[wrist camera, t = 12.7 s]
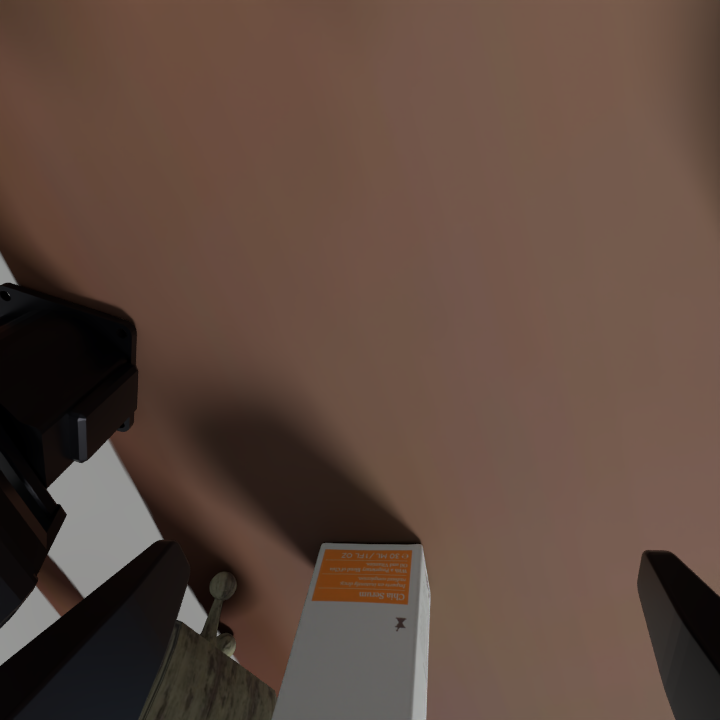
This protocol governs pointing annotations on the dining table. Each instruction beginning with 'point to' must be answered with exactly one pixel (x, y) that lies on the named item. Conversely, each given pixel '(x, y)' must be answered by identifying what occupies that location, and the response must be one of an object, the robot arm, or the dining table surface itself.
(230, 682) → the tabletop clock
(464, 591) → the dining table surface
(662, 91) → the dining table surface
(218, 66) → the dining table surface
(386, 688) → the skincare box
